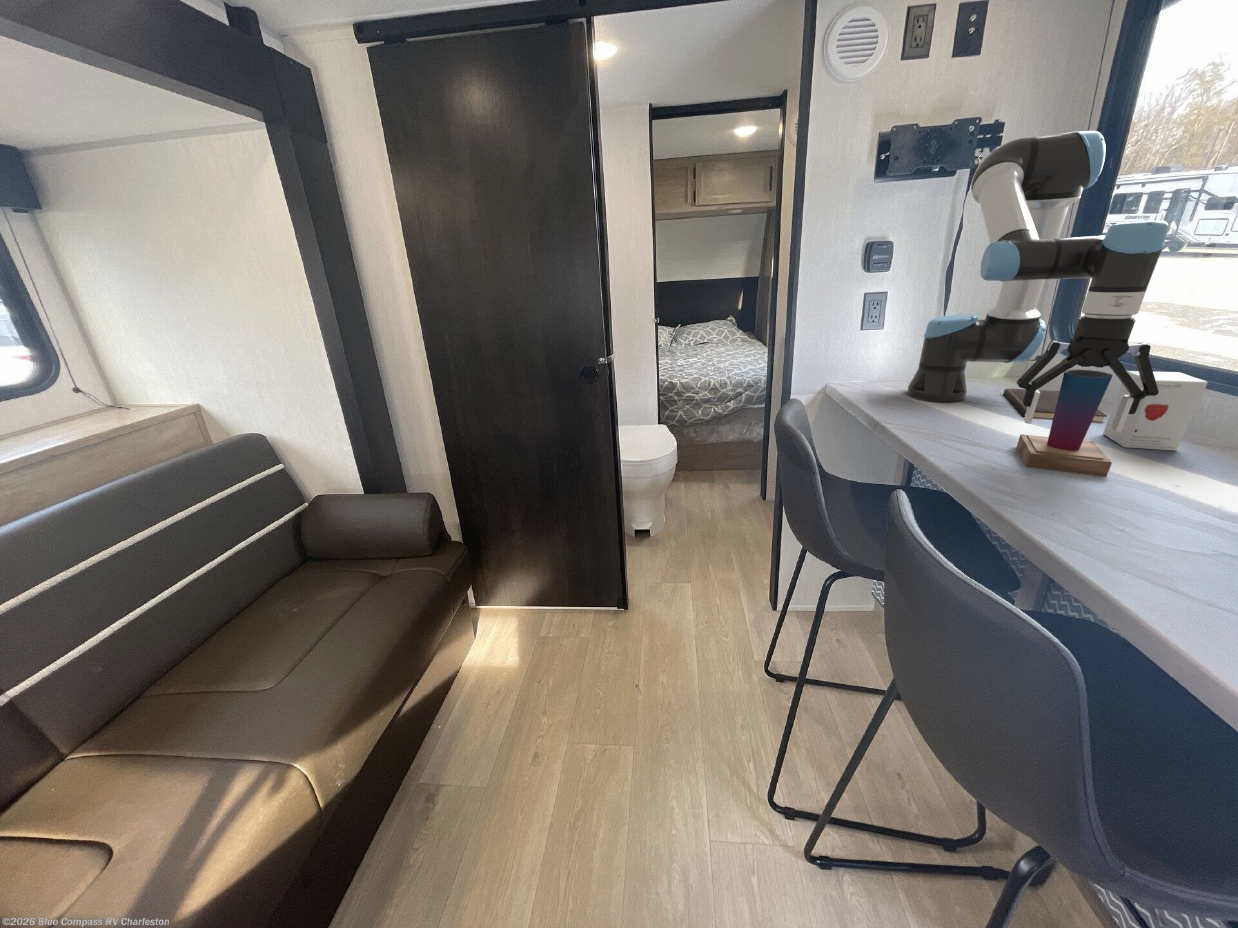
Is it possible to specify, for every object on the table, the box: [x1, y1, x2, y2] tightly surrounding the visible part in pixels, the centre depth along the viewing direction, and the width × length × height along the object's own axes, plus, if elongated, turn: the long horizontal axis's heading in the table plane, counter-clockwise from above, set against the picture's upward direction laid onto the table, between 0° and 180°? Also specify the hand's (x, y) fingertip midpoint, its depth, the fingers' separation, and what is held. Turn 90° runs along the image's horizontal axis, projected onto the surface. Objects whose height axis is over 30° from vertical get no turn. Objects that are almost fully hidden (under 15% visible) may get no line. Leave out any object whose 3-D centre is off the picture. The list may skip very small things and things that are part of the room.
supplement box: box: [1102, 370, 1208, 452], centre depth 102 cm, size 9×9×15 cm
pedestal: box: [1016, 433, 1113, 477], centre depth 98 cm, size 12×12×3 cm
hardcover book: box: [1002, 388, 1108, 423], centre depth 130 cm, size 16×23×2 cm
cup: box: [1047, 369, 1113, 450], centre depth 94 cm, size 7×7×15 cm
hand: (1070, 425), depth 96 cm, fingers open, 13 cm apart
